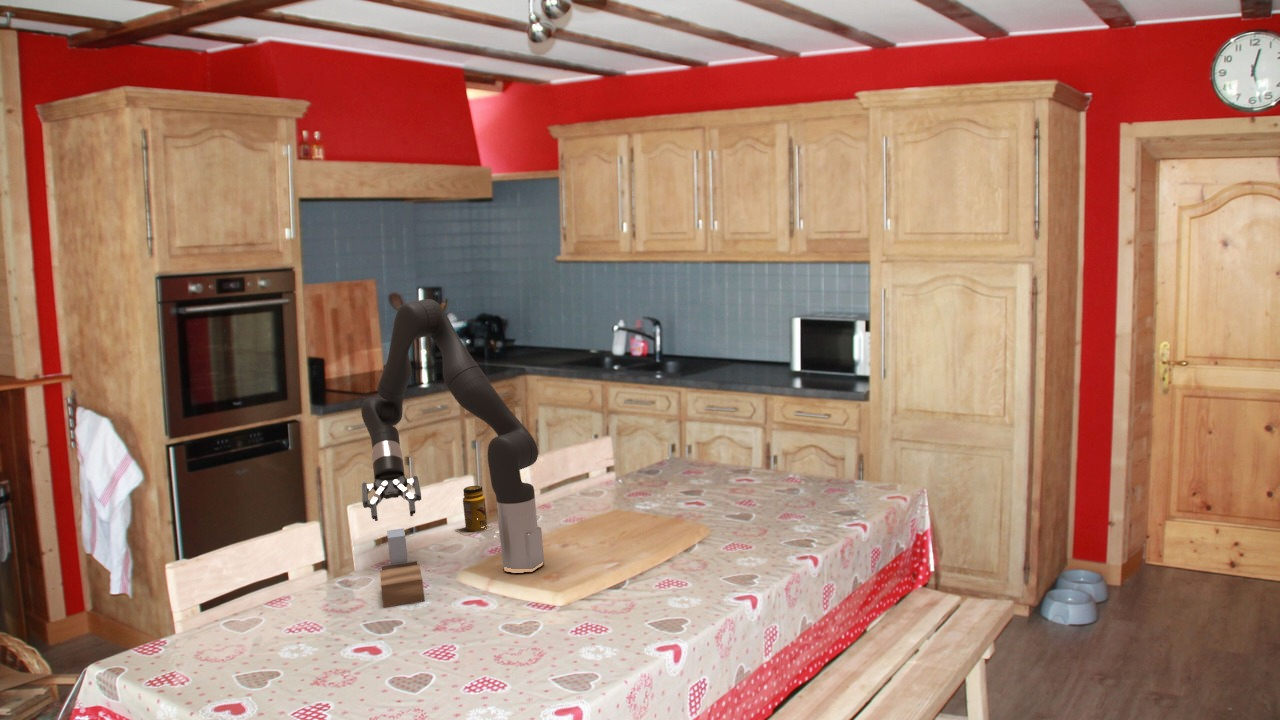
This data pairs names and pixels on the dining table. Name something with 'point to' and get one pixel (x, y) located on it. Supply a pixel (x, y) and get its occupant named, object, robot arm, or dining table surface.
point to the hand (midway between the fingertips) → (394, 517)
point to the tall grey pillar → (397, 546)
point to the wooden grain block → (401, 584)
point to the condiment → (474, 511)
